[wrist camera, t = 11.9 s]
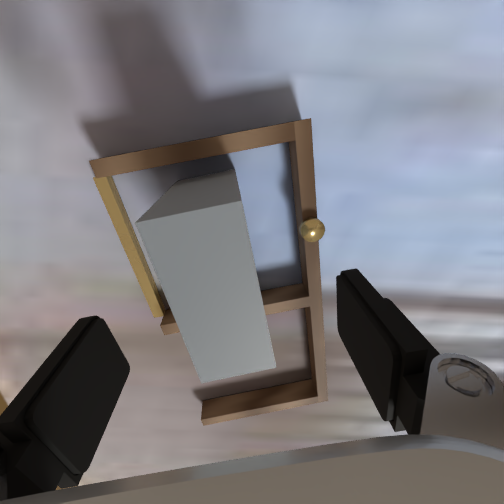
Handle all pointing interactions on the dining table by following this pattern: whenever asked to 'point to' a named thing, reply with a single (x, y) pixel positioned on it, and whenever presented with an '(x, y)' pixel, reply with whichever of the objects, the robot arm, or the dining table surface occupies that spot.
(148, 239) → the pale gray rectangular prism
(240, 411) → the frame
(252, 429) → the dining table surface
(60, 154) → the dining table surface
